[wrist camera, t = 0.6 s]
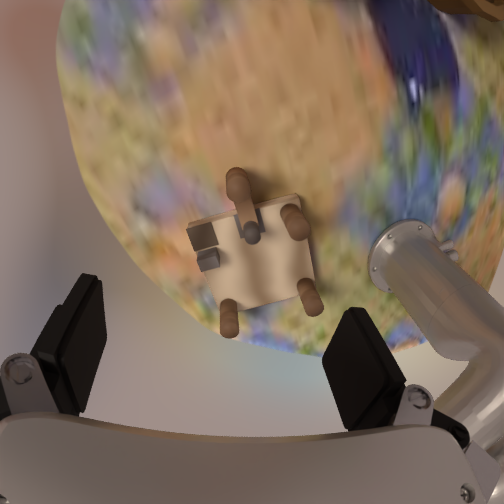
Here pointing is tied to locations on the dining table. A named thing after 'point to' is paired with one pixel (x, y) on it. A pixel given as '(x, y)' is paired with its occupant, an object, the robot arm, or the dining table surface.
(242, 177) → the hinged leg
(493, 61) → the dining table surface
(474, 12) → the flowerpot
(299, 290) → the stool
